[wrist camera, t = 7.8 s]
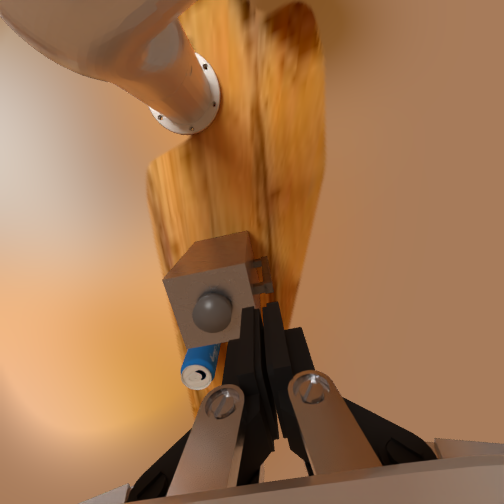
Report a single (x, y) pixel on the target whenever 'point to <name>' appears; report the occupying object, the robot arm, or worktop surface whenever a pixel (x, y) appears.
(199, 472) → the robot arm
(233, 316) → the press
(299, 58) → the worktop surface
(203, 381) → the beverage can
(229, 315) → the plunger
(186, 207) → the worktop surface
